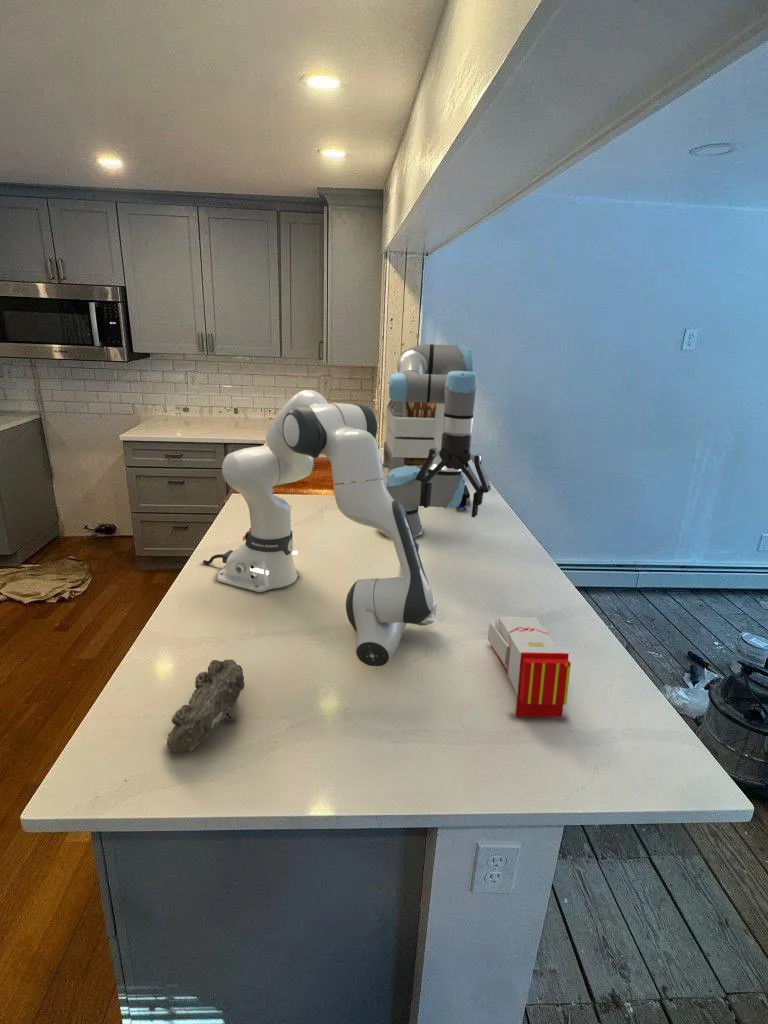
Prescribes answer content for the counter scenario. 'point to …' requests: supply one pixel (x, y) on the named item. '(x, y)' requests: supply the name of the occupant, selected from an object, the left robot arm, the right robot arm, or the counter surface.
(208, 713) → the fossil
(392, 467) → the grey slatted crate
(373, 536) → the counter surface
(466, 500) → the figurine character
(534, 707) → the toy
